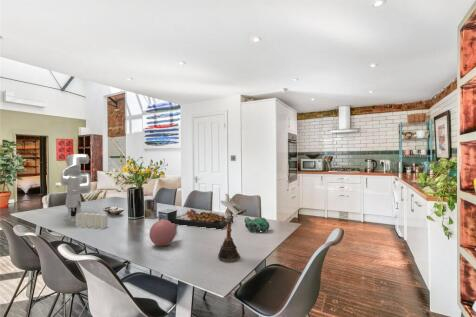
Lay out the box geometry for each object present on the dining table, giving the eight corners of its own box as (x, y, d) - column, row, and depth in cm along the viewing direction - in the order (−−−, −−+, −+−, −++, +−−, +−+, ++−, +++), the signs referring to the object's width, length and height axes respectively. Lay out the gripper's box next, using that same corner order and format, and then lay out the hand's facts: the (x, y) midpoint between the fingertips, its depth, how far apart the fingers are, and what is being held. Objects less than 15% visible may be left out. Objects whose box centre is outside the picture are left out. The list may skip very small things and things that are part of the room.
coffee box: (157, 217, 214) (157, 199, 213) (153, 219, 207) (154, 200, 207) (147, 216, 214) (147, 199, 214) (143, 218, 208) (144, 200, 208)
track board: (71, 228, 178) (71, 227, 178) (81, 225, 187) (81, 224, 187) (102, 231, 173) (102, 230, 173) (111, 227, 182) (111, 226, 182)
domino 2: (81, 227, 179) (81, 214, 179) (87, 225, 184) (87, 212, 184) (83, 227, 179) (83, 214, 178) (89, 225, 183) (89, 212, 183)
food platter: (170, 224, 192) (170, 212, 192) (186, 217, 215) (186, 206, 215) (221, 230, 177) (221, 216, 177) (233, 222, 201) (233, 210, 201)
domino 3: (88, 227, 178) (88, 214, 178) (93, 226, 183) (93, 213, 183) (89, 228, 177) (89, 214, 177) (95, 226, 182) (95, 213, 182)
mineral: (249, 235, 164) (249, 221, 164) (241, 229, 179) (241, 216, 179) (272, 232, 171) (273, 219, 171) (262, 226, 186) (262, 214, 186)
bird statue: (252, 257, 129) (253, 192, 129) (241, 266, 118) (241, 196, 118) (227, 250, 137) (227, 190, 137) (213, 259, 126) (214, 193, 126)
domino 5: (100, 228, 175) (100, 215, 175) (105, 227, 180) (105, 213, 180) (102, 229, 175) (102, 215, 175) (107, 227, 180) (107, 214, 180)
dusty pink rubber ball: (186, 242, 151) (186, 218, 151) (159, 252, 135) (160, 225, 135) (170, 237, 160) (170, 214, 160) (144, 246, 144) (144, 220, 144)
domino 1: (75, 226, 180) (75, 213, 180) (81, 225, 185) (81, 212, 185) (77, 227, 180) (77, 213, 180) (83, 225, 185) (83, 212, 185)
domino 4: (94, 228, 177) (94, 215, 177) (99, 226, 182) (99, 213, 181) (96, 228, 176) (96, 215, 176) (101, 226, 181) (101, 213, 181)
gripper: (61, 192, 181) (61, 216, 181) (77, 193, 178) (77, 217, 178) (70, 191, 189) (69, 214, 189) (85, 192, 185) (85, 215, 185)
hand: (73, 216), depth 183 cm, fingers closed
